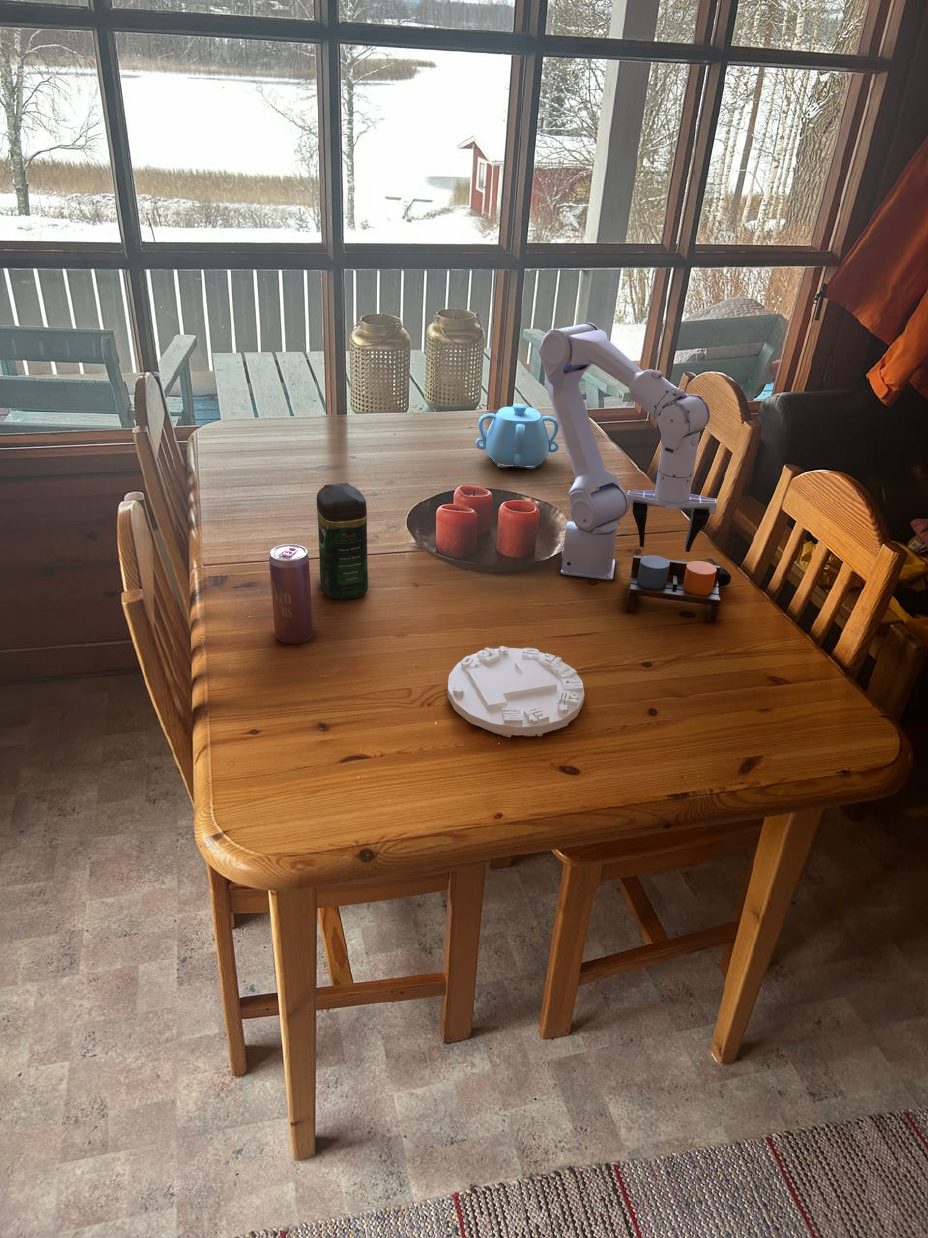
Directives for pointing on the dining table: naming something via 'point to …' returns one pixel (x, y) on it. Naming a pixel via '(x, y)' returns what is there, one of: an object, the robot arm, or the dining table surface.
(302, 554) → the beverage can
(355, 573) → the coffee jar
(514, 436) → the decorative pot
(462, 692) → the white flat round disc
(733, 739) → the dining table surface
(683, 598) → the rack
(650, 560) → the grey squat cylinder
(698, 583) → the orange squat cylinder
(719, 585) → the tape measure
